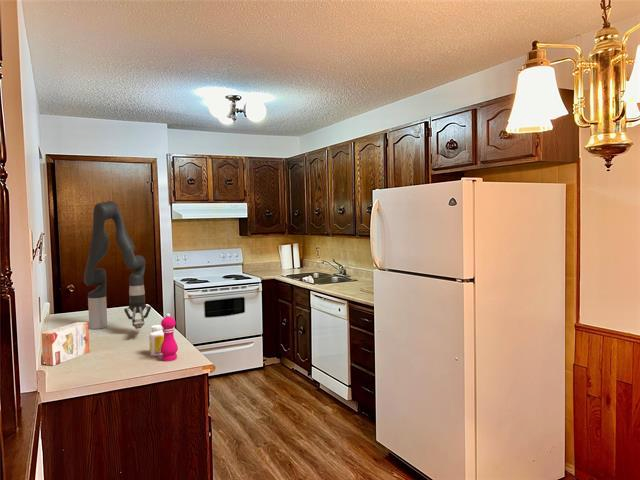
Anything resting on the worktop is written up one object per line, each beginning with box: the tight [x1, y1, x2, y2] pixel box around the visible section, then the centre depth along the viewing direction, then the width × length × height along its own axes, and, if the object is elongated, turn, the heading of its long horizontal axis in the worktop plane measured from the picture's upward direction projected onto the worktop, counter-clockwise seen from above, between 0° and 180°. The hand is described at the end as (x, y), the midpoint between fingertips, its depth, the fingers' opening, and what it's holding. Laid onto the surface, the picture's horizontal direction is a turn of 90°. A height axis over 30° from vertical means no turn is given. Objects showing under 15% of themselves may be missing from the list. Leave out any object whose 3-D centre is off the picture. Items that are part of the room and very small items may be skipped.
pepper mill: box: [160, 313, 179, 362], centre depth 206 cm, size 7×7×20 cm
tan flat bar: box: [133, 318, 146, 330], centre depth 244 cm, size 18×5×3 cm, turn 23°
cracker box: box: [41, 321, 90, 367], centre depth 209 cm, size 14×6×21 cm
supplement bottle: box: [148, 324, 164, 357], centre depth 213 cm, size 7×7×13 cm
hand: (138, 326), depth 249 cm, fingers closed on tan flat bar, 3 cm apart
